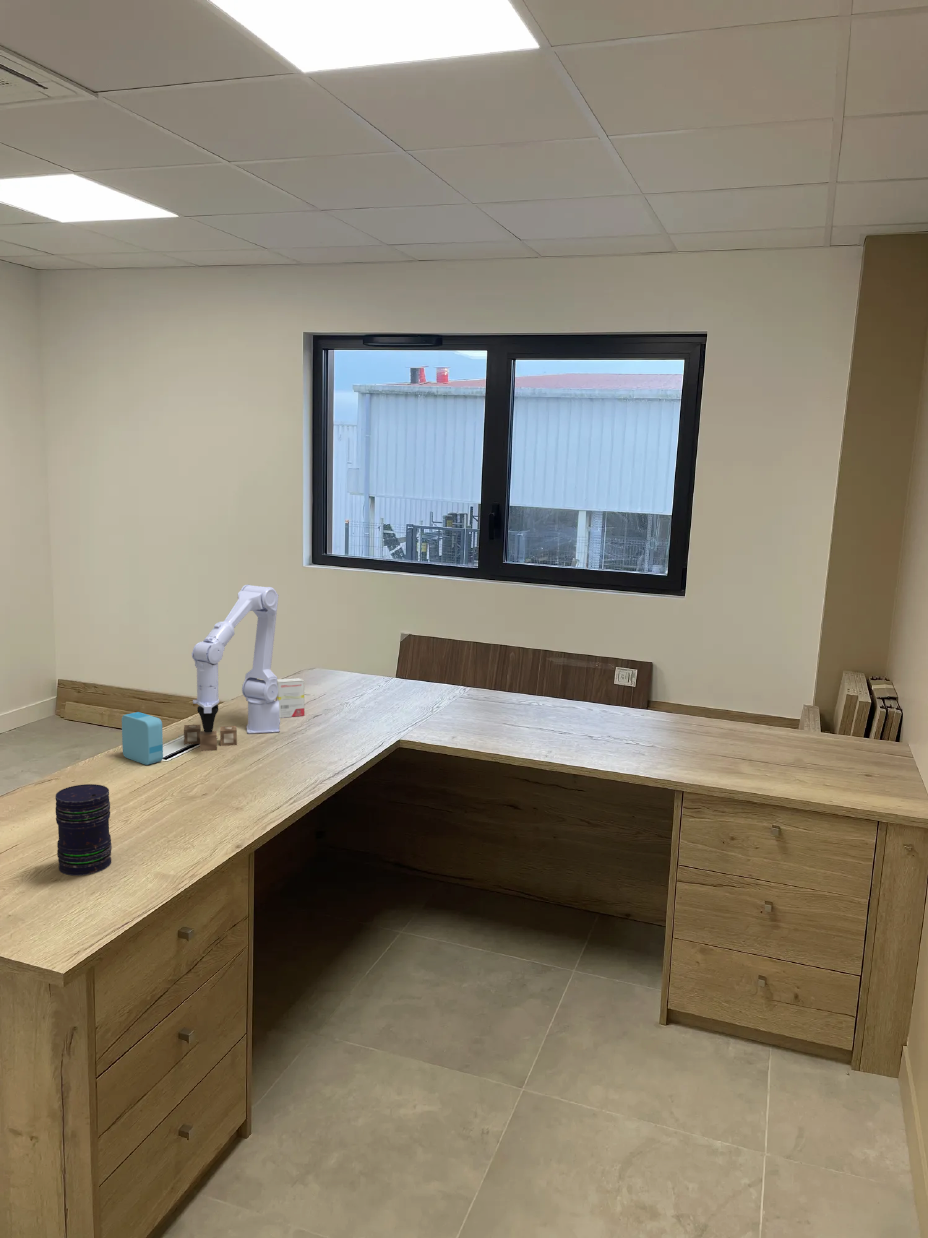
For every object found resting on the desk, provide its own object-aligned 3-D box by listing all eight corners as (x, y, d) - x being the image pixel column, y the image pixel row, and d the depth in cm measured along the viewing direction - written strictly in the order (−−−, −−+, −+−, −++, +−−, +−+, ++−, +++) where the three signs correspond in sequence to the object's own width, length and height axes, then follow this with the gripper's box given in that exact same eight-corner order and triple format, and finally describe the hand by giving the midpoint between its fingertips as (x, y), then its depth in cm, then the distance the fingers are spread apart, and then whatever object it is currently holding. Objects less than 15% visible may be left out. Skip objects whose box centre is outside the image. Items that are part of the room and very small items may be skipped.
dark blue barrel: (46, 870, 173) (42, 797, 170) (84, 850, 182) (81, 781, 179) (86, 879, 169) (83, 805, 167) (123, 859, 178) (120, 788, 176)
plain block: (216, 745, 253) (216, 730, 252) (216, 750, 249) (216, 735, 248) (200, 746, 252) (200, 731, 251) (200, 751, 247) (199, 736, 247)
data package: (163, 762, 237) (162, 719, 235) (148, 766, 234) (147, 722, 232) (137, 753, 244) (135, 710, 242) (122, 756, 241) (121, 714, 239)
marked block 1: (200, 739, 258) (200, 724, 257) (200, 744, 254) (200, 728, 253) (184, 740, 257) (184, 724, 256) (184, 745, 253) (183, 729, 252)
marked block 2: (236, 740, 258) (236, 725, 257) (236, 745, 254) (236, 729, 253) (220, 741, 257) (220, 726, 256) (220, 746, 252) (220, 730, 252)
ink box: (301, 712, 290) (301, 677, 288) (304, 716, 286) (304, 680, 284) (274, 714, 287) (274, 678, 285) (278, 718, 282) (278, 682, 280)
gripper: (193, 679, 253) (193, 725, 255) (192, 691, 239) (192, 739, 241) (218, 678, 255) (219, 724, 257) (219, 690, 241) (219, 738, 243)
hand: (208, 731), depth 249 cm, fingers closed
